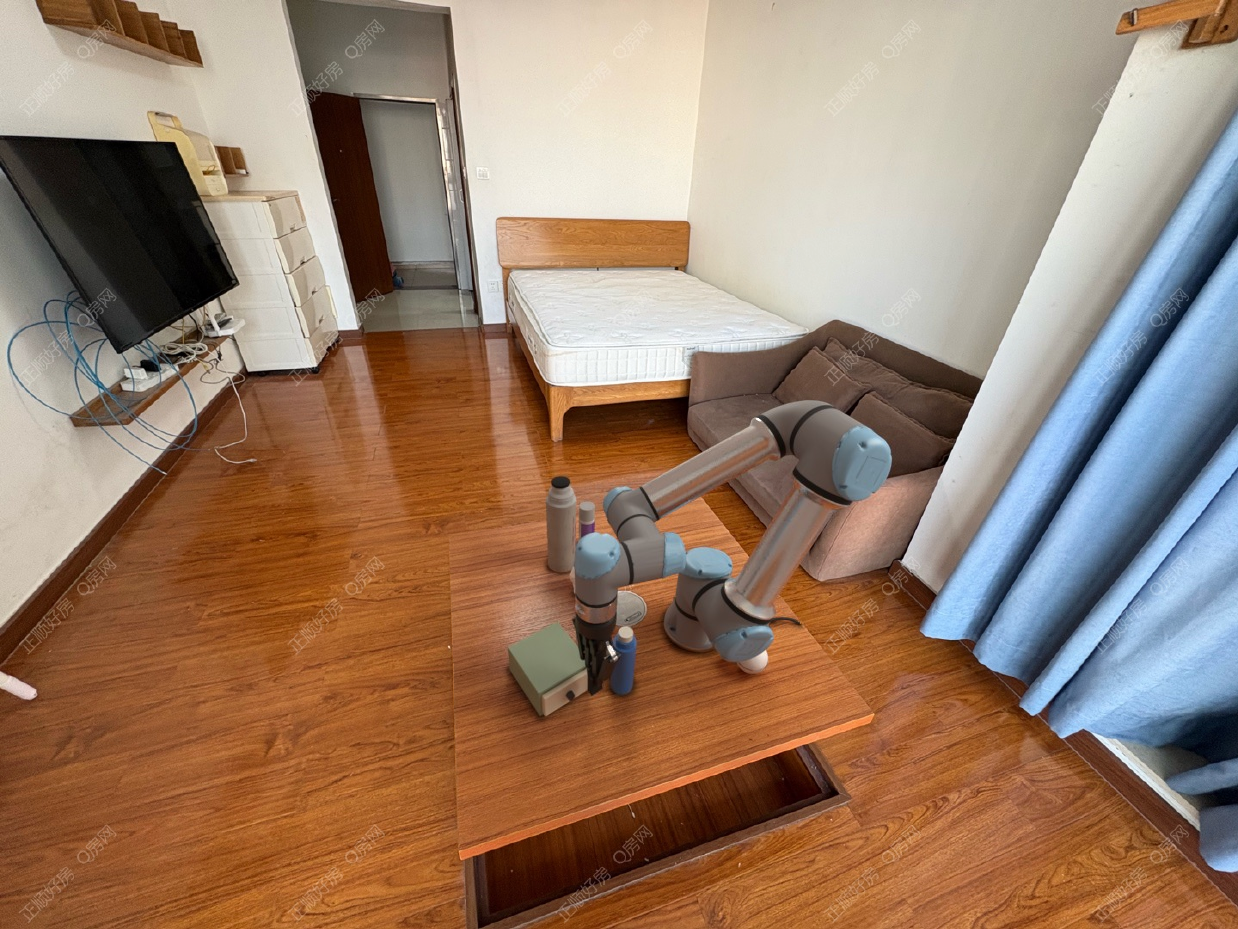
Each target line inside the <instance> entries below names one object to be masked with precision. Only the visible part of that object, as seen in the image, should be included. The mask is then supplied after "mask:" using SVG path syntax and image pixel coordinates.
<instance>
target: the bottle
mask: <svg viewBox="0 0 1238 929" xmlns="http://www.w3.org/2000/svg"><path fill="white" fill-rule="evenodd" d="M612 641H613V645H612V648H613V650H614V651H616V653H617V652H619V653H620V655H621V658H620V659H619V660H617V663H616V665H615V668H614V671H613V673H612V676H611V677H610V679H609V687H610V689H611V691H612V692H613V693H615V694H617V695H620V696H621V695H622V696H623V695H627V694H629V693H630V692H631V691H632V689H633V685H634V675H635V668H636V666H635V665H636V659H637V658H636V656H637V647H638V640H637V639H636V636H635V634H634V630H633V629H632V627H630V626H621V627H620V628H619V629H618V631H617V633H616V635H615V636H614V637H613V638H612Z"/></svg>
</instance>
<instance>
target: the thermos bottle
mask: <svg viewBox="0 0 1238 929" xmlns="http://www.w3.org/2000/svg"><path fill="white" fill-rule="evenodd" d="M550 486H551V487H550V488H549V489H548V493H547V495H546V497H545V517H546V518H545V519H546V539H547V541H546V542H547V546H546V547H547V548H546V552H547V554H546V555H547V566H548V567H549V569H550V570H552V571H554V572H557V573H566V572H571V570H572V568H573V567H574V558H575V548H576V545H577V496H576V495H575V491H574V489H573V488H572V487H571V479H570V478H569V477H567V476H565V475H564V476H563V475H558V476H554V477H553V478H551V481H550Z"/></svg>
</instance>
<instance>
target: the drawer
mask: <svg viewBox="0 0 1238 929" xmlns="http://www.w3.org/2000/svg"><path fill="white" fill-rule="evenodd" d="M585 692H588V676H587V668H586V669H584V670H583V671H582V670H581V671H580V672H578V673H576V674H575V675H573V676H572V677H570V678H568V679H567V680H565V681H563V682H562V683H560V684H558V685H557V686H555V687H553V688H552V689H550V690H548V691H547V692H545V693H543V694H542V709H543V715H544V717H547V716H549V715H550V714H552V713H553V712H555V711H557V710H559V709H560V708H561V707H563V706H564V705H566V704H568V703H569V702H571V701H572V700H574V699H576V698H578V697H579V696H580V695H582V694H583V693H585Z"/></svg>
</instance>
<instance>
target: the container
mask: <svg viewBox="0 0 1238 929" xmlns="http://www.w3.org/2000/svg"><path fill="white" fill-rule="evenodd" d="M595 531H596V505H595V503H594V502H592V501H588V500H587V501H585V500H584V501H582V502H581V503H579V506H578V539H577V540H578V541H579V540H580V539H581V538H582V537H584V536H585V535H587V534H590V533H595ZM578 541H577V542H578Z"/></svg>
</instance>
